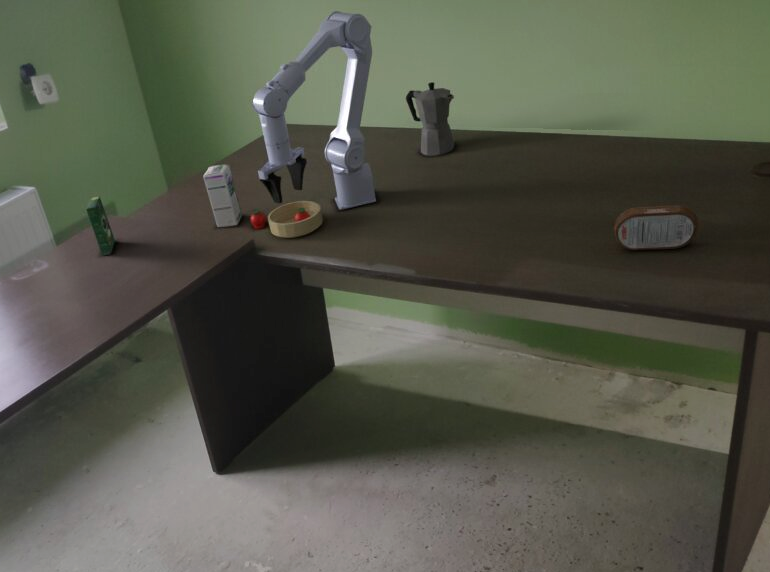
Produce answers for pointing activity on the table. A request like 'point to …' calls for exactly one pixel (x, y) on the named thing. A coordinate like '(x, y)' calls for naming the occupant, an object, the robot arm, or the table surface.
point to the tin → (656, 227)
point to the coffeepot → (433, 119)
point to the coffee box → (100, 225)
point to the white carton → (222, 195)
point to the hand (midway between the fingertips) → (288, 195)
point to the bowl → (285, 221)
